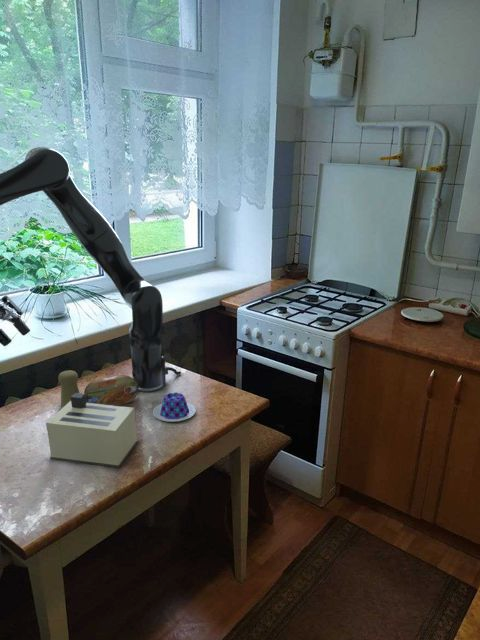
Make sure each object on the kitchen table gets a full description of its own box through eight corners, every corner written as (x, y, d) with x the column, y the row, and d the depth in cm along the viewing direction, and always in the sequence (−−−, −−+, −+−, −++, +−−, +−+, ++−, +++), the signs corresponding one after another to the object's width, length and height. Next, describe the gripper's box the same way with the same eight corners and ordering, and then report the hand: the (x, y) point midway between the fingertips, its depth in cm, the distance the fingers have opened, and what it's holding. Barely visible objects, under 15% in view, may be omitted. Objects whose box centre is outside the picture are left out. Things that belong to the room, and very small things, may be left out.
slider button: (76, 402, 124) (75, 392, 123) (86, 403, 123) (85, 393, 122) (71, 407, 121) (70, 397, 120) (81, 408, 121) (80, 398, 120)
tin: (86, 411, 140) (83, 385, 136) (84, 406, 142) (81, 380, 139) (139, 401, 146) (137, 375, 143) (136, 397, 149) (135, 371, 146)
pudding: (148, 407, 143) (147, 391, 141) (187, 399, 148) (187, 384, 146) (160, 427, 133) (159, 410, 131) (202, 418, 138) (201, 401, 136)
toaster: (77, 431, 130) (72, 397, 126) (140, 438, 128) (137, 404, 124) (50, 459, 118) (44, 422, 114) (119, 468, 116) (115, 431, 112)
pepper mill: (86, 402, 144) (82, 368, 140) (77, 413, 139) (73, 377, 135) (66, 401, 145) (62, 367, 141) (56, 411, 139) (51, 376, 135)
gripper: (-40, 280, 107) (13, 338, 111) (-3, 269, 120) (43, 321, 124) (-63, 299, 109) (-10, 357, 112) (-24, 286, 122) (22, 338, 126)
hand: (18, 338), depth 118 cm, fingers open, 8 cm apart
